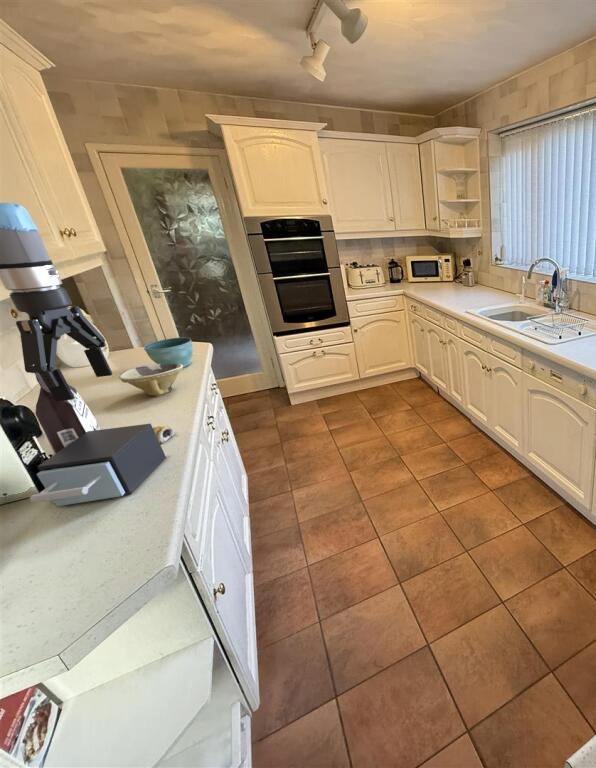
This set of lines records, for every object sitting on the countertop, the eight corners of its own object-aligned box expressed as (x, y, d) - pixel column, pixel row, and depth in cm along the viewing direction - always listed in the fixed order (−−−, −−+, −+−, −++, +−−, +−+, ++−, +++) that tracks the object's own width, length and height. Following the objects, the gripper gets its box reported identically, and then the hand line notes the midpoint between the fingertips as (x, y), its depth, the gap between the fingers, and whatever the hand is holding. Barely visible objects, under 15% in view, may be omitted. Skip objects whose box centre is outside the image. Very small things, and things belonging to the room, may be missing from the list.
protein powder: (108, 460, 107) (58, 364, 96) (62, 474, 102) (3, 374, 90) (107, 438, 118) (62, 349, 107) (65, 449, 113) (13, 358, 101)
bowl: (189, 394, 146) (180, 370, 143) (125, 407, 137) (113, 382, 133) (192, 379, 160) (183, 357, 156) (134, 390, 151) (123, 367, 147)
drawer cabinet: (131, 494, 94) (111, 456, 89) (61, 505, 91) (36, 466, 86) (166, 457, 108) (150, 423, 103) (106, 466, 105) (87, 431, 100)
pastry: (129, 445, 114) (123, 434, 112) (148, 433, 120) (143, 423, 119) (162, 444, 114) (157, 433, 112) (179, 432, 120) (175, 422, 119)
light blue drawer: (105, 513, 87) (86, 480, 83) (34, 525, 84) (12, 491, 80) (156, 461, 105) (143, 432, 101) (100, 469, 102) (84, 439, 98)
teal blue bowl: (196, 368, 171) (188, 344, 167) (149, 376, 164) (138, 351, 160) (201, 357, 184) (193, 335, 180) (157, 364, 177) (148, 341, 173)
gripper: (11, 299, 67) (70, 408, 76) (98, 278, 89) (136, 365, 98) (-48, 303, 65) (19, 415, 74) (56, 280, 87) (99, 369, 96)
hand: (86, 387), depth 86 cm, fingers open, 13 cm apart
